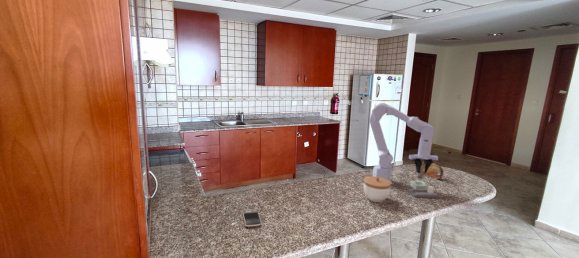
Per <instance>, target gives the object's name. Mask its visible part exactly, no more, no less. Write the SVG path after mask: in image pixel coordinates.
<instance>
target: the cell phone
mask: <svg viewBox="0 0 579 258" xmlns="http://www.w3.org/2000/svg"><path fill="white" fill-rule="evenodd" d="M242 216H243V220H244V225H245V227H246V228H247V227H252V228H258V227H257V226H259V227H262V221H261V217H260V214H259V211H247V212H246V211H245V212H242Z"/></svg>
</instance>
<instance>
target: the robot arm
mask: <svg viewBox="0 0 579 258" xmlns="http://www.w3.org/2000/svg"><path fill="white" fill-rule="evenodd" d="M384 115H385V116H393V117H395V118H397V119H399V120H401V121H403V122H405V123H406V126H407V127H409V128H410V129H413V130H414V131H416V132H417V133H420V138H419V141H418V142H419V143H418V150H417V154H416V153H415V154H409V155H408V159H409V160H413V162H414V165H415V169H416V170H415V172H416V173H417V174H418V173H420V167H421V164H422V162H424V163H426V166H425V172H424V173H426V172H427V170H428V168H429V167H430V165H431V164H434V161H438V160H439V156H437V155H431V151H432V145H433V137H434V134H435V131H434V130H435V129H434V126H432V125H431V124H430V123H428V122H426V121H423V120H421V119H420V118H419V117H418V116H408V115H407V114H405V113H404V112H402V111H400V110H399V109H397V108H395V107H394V106H391V105H389V104H386V103H385V102H381V103H378V104H376V105H375V106H374V108H373V109H372V110H371V114H370V117H369V125H370V127H371V130H372V131H371V132H372V134H373V136H374V141H375V144H376V147H377V150H378V165H374V166H373V169H372V176H376V177H382V178H385V179H387V180H389V181H390V182H391V185H392V184H394V182H392V180H391V179H392V172H393V171H392V170H393V165H392V162H393V160H394V157H393V155H392V154H391V152H390V151H389V149H388V146H387V143H386V139H385V136H384V132H383V129H382V126H381V123H380V121H381V119H383V117H384ZM422 160H423V161H422Z"/></svg>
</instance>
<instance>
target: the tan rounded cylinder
mask: <svg viewBox="0 0 579 258" xmlns="http://www.w3.org/2000/svg"><path fill="white" fill-rule="evenodd" d="M425 166H426V163H422V164H421V167H420V173H417V178H418V179H421V180H422V179H424V177H425V175H424V172H425Z"/></svg>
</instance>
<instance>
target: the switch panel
mask: <svg viewBox="0 0 579 258" xmlns="http://www.w3.org/2000/svg"><path fill="white" fill-rule="evenodd" d="M407 192H408V193H409V194H410V195H412V196H413V197H414V198H430V199H431V198H432V199H433V198H435V199H437V198H438V199H439V195H438V194H437V192H434V193H428V192H427V189H414V188H407Z"/></svg>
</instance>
